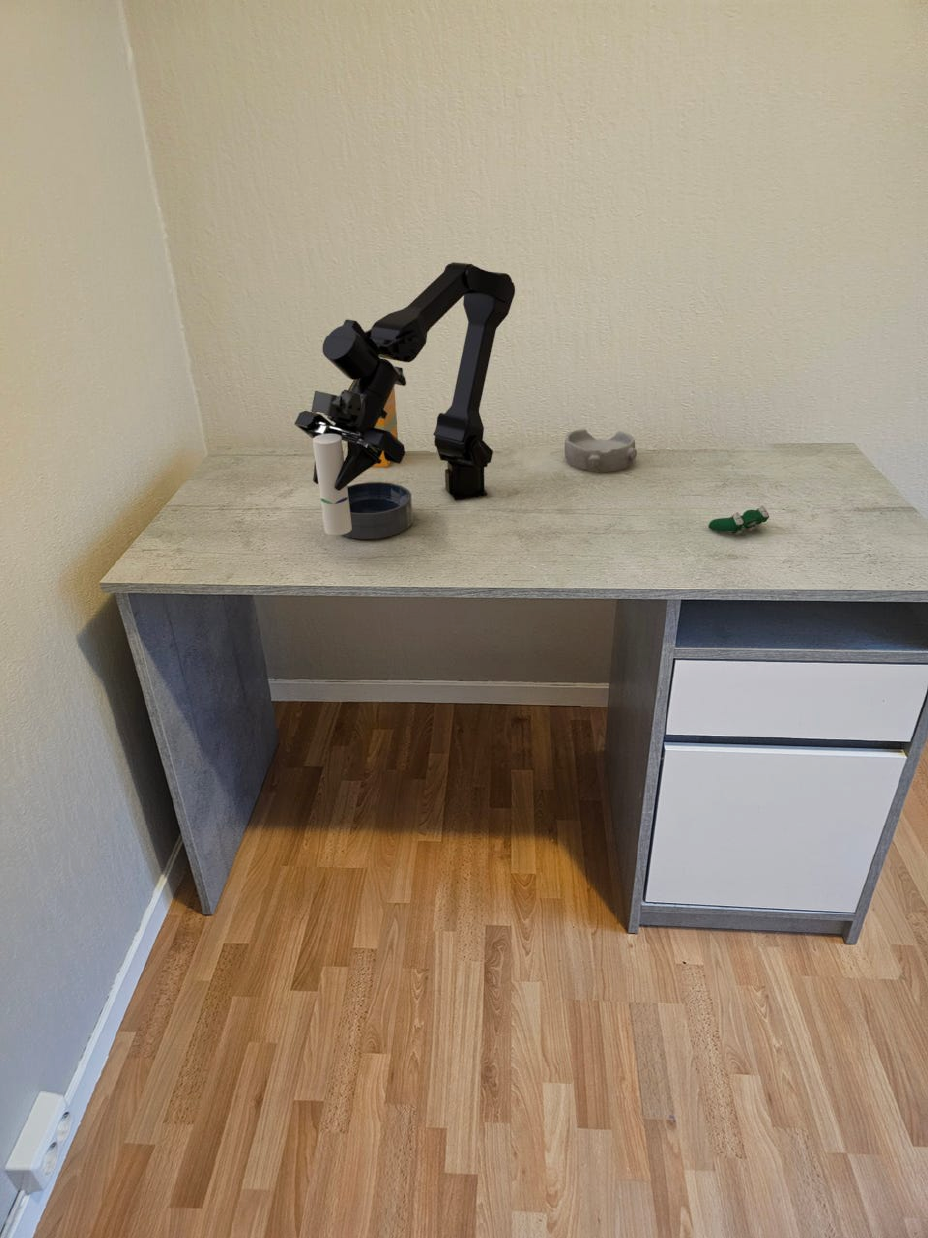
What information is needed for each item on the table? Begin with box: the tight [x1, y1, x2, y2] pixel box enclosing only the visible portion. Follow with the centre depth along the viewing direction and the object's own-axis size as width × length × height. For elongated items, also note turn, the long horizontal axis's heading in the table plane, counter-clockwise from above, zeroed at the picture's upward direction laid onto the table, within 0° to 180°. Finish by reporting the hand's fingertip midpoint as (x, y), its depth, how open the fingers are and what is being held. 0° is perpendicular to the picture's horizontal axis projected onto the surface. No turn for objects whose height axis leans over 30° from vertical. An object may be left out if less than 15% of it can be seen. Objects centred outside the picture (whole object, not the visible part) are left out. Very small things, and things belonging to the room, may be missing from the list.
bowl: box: [342, 481, 414, 540], centre depth 145 cm, size 14×14×5 cm
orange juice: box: [347, 380, 399, 468], centre depth 169 cm, size 8×9×20 cm
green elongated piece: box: [707, 505, 770, 535], centre depth 140 cm, size 9×4×6 cm
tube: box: [312, 434, 352, 536], centre depth 128 cm, size 4×4×15 cm
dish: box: [564, 428, 638, 472], centre depth 168 cm, size 14×14×5 cm
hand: (326, 486), depth 127 cm, fingers closed on tube, 4 cm apart
